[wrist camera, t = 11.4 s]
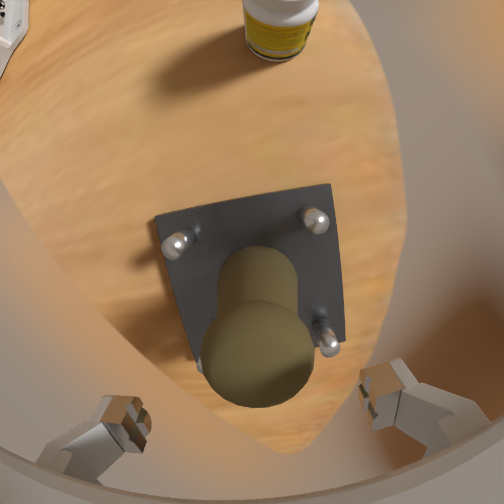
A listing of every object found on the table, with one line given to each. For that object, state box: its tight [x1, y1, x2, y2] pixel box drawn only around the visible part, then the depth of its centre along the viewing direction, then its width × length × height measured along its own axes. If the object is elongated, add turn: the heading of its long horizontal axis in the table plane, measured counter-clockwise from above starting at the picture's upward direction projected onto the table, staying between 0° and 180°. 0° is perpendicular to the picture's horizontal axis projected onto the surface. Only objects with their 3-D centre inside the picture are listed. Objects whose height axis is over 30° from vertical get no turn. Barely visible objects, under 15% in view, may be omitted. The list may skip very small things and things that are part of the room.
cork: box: [200, 246, 315, 408], centre depth 16 cm, size 6×6×11 cm
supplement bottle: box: [242, 0, 319, 62], centre depth 14 cm, size 5×5×8 cm
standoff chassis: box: [155, 183, 346, 374], centre depth 20 cm, size 13×13×5 cm
